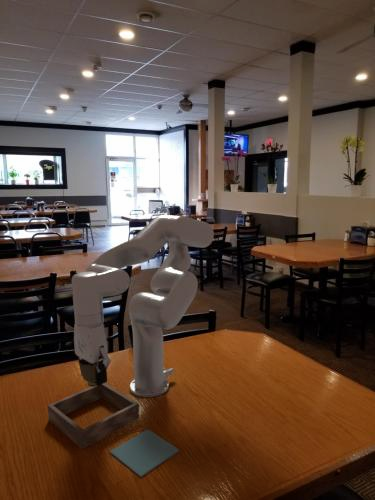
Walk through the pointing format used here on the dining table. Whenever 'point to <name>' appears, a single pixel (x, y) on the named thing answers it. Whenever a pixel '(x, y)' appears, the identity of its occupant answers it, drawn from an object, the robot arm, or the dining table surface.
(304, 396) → the dining table surface
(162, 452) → the light blue square plate
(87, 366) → the dark rounded piece
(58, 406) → the grey square frame
